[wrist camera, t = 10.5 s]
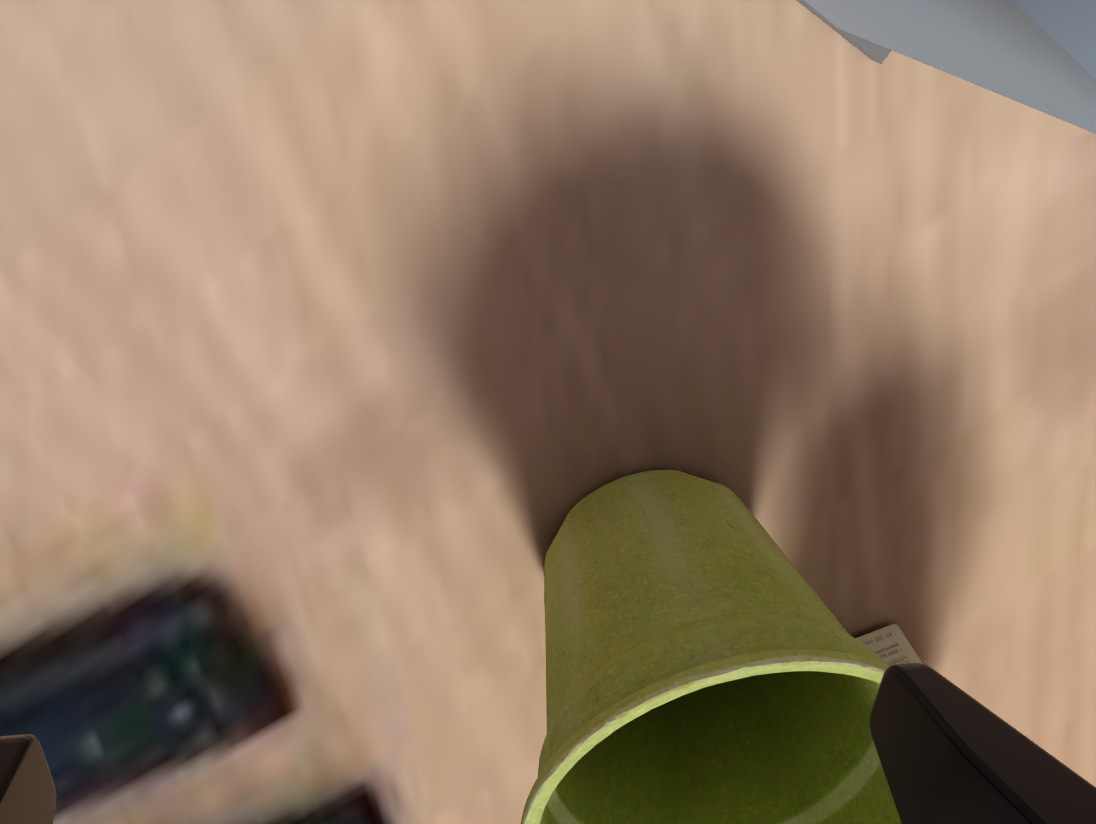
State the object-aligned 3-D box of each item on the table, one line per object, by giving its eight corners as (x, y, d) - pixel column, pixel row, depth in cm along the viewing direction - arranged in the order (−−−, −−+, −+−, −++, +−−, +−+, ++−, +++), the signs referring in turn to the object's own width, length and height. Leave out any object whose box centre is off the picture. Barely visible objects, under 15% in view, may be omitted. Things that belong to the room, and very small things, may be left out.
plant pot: (558, 709, 29) (617, 997, 22) (423, 502, 24) (442, 786, 17) (834, 595, 29) (990, 854, 21) (754, 357, 24) (922, 589, 16)
